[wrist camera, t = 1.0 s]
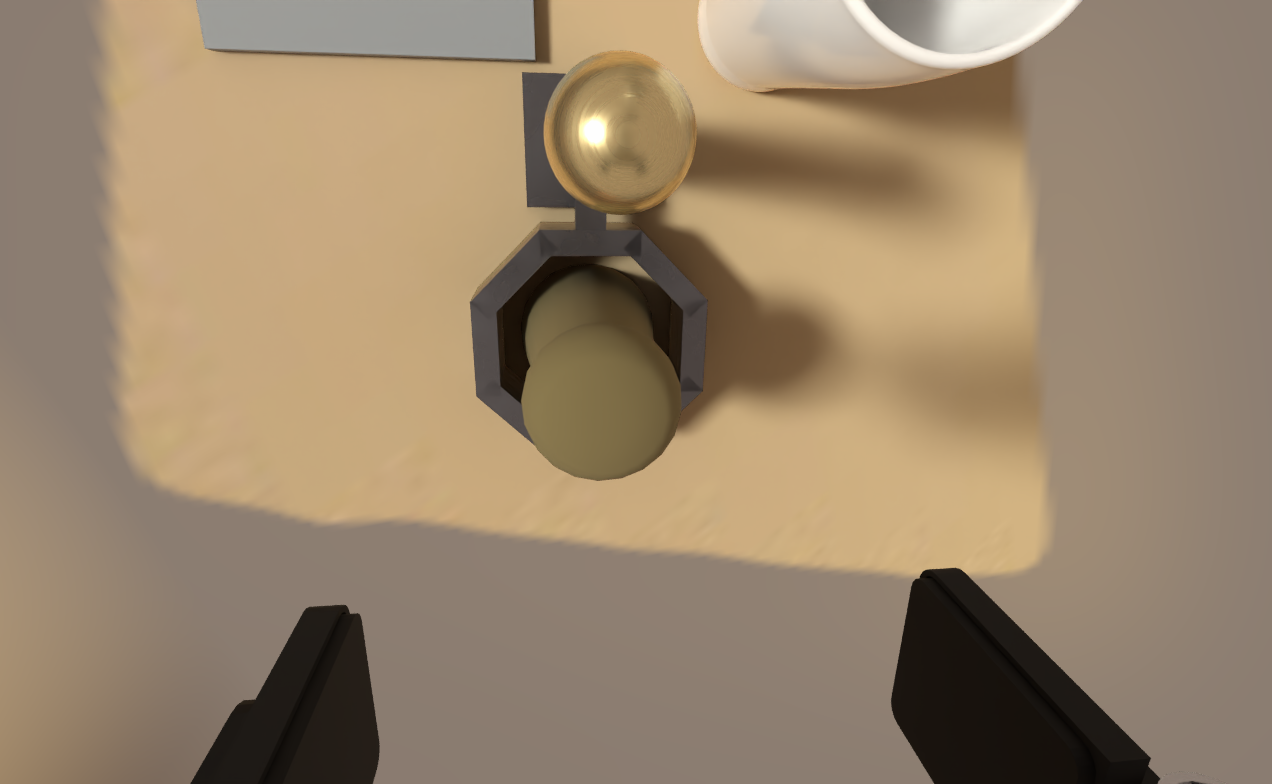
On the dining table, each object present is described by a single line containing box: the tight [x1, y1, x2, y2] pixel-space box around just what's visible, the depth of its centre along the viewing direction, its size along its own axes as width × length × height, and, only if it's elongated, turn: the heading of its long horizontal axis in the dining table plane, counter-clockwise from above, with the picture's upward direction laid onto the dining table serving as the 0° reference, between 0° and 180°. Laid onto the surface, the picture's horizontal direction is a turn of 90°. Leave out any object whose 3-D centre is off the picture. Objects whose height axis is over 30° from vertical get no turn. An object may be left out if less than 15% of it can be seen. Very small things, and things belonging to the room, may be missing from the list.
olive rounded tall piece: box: [521, 264, 682, 481], centre depth 25 cm, size 6×6×11 cm
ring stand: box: [470, 51, 708, 444], centre depth 22 cm, size 15×10×16 cm, turn 179°
